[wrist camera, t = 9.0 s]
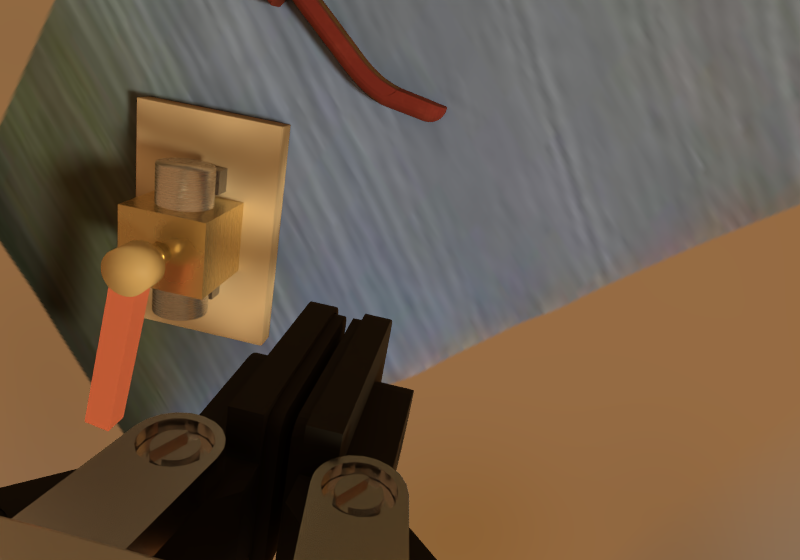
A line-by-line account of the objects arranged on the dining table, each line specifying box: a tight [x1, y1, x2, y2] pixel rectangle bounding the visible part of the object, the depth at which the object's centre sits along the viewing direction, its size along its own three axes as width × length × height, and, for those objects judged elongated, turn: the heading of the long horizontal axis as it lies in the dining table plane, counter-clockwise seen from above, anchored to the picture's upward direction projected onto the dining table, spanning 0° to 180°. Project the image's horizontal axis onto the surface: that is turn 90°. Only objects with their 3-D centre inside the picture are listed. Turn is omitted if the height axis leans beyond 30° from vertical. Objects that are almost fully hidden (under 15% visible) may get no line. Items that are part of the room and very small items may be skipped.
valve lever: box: [85, 240, 165, 431], centre depth 36 cm, size 12×3×2 cm, turn 160°
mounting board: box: [136, 96, 290, 345], centre depth 43 cm, size 16×10×2 cm, turn 170°
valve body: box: [118, 158, 244, 321], centre depth 38 cm, size 10×6×7 cm, turn 170°
